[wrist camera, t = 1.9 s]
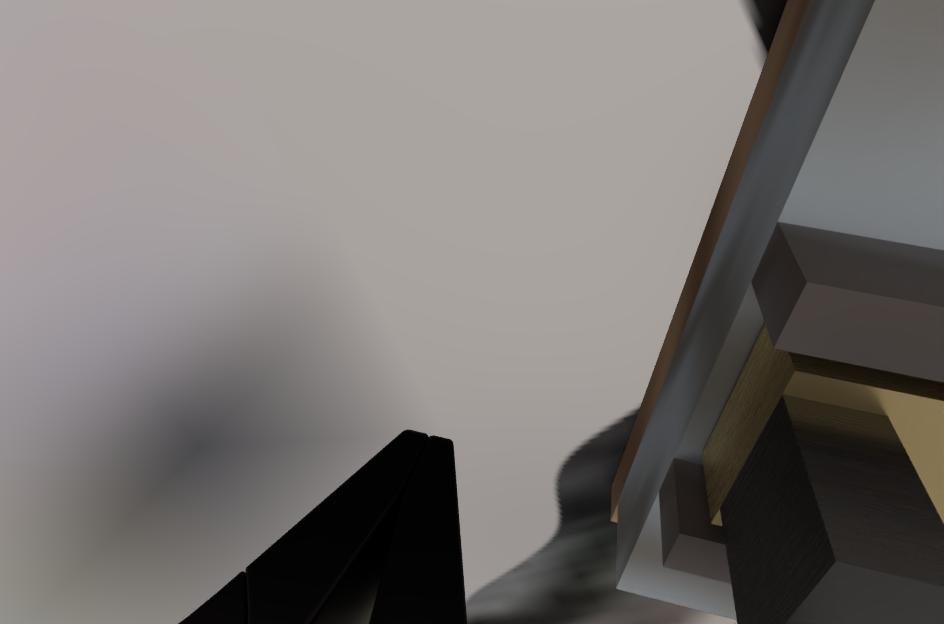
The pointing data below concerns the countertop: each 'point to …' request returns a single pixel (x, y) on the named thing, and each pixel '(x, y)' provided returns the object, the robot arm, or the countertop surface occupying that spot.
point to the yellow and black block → (830, 492)
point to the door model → (796, 264)
